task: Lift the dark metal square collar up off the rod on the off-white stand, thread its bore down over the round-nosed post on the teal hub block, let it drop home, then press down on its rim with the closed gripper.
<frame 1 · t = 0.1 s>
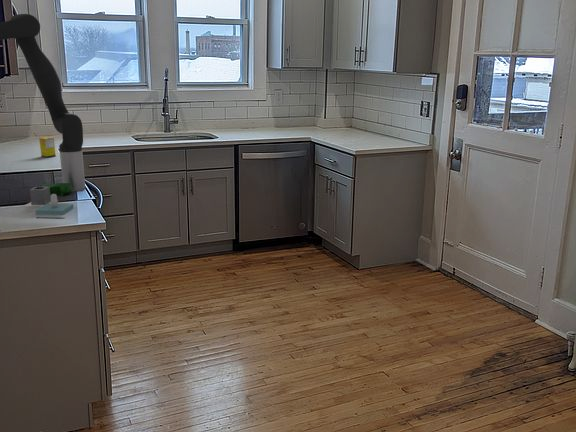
clamp: (57, 198, 248), on the worktop
hub block: (55, 214, 222), on the worktop
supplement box: (48, 156, 345), on the worktop
rod stand: (41, 206, 234), on the worktop
metal collar: (41, 203, 233), point 1 cm above the worktop, touching rod stand
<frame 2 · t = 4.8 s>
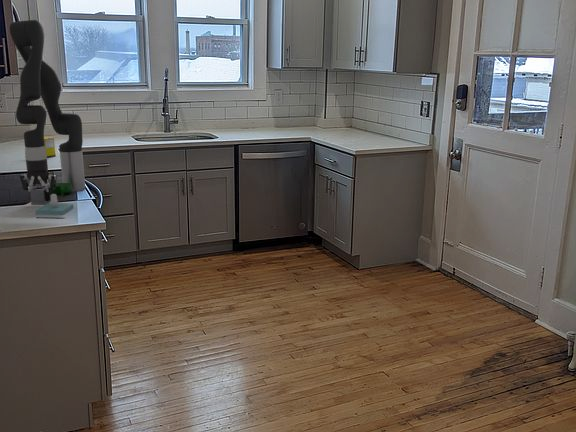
hand: (40, 200, 233), 2 cm above the worktop, tool pointing down, fingers closed on metal collar, 5 cm apart
metal collar: (41, 203, 233), point 1 cm above the worktop, touching gripper, rod stand
everything else where it was.
when the fingers open (6 cm above the worktop, at t = 11.2 s): metal collar drops 2 cm, resting on hub block.
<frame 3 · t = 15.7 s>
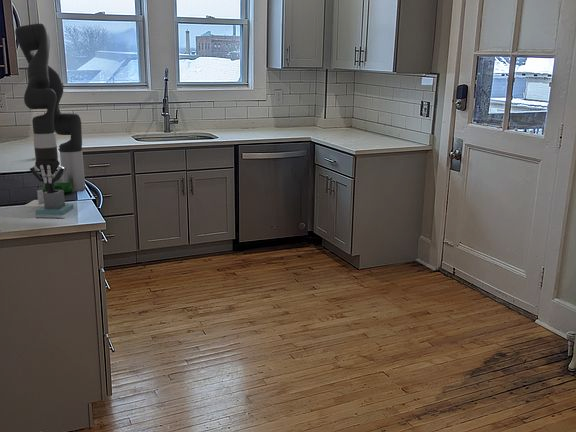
hand: (50, 192, 218), 9 cm above the worktop, tool pointing down, fingers closed
metal collar: (55, 207, 222), point 3 cm above the worktop, touching gripper, hub block
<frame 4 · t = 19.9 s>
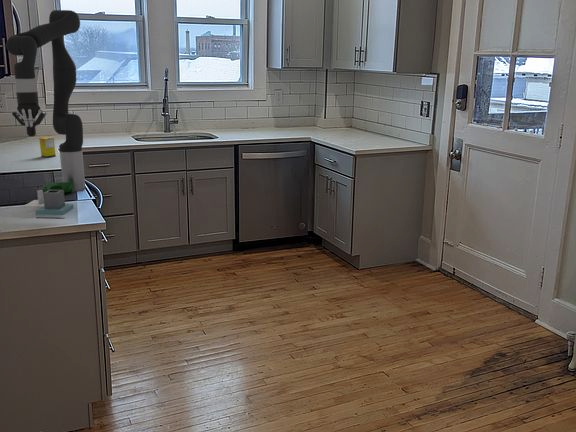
hand: (31, 136, 231), 27 cm above the worktop, tool pointing down, fingers closed
metal collar: (55, 207, 222), point 3 cm above the worktop, touching hub block
at the end: metal collar 0.1 cm off-centre on the hub block, point 3.0 cm above the hub block's base; metal collar tilted 0°; the gripper is holding nothing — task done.
